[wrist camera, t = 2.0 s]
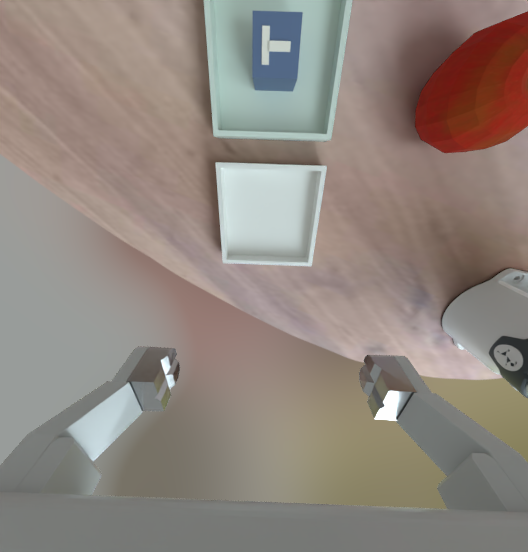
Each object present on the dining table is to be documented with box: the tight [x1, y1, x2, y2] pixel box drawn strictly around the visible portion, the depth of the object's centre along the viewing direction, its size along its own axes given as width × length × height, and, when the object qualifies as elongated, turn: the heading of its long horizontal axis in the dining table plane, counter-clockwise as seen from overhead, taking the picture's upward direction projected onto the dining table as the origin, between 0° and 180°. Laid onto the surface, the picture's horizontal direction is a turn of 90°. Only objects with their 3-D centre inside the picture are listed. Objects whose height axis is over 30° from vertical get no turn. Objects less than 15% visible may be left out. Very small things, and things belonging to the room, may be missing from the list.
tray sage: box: [204, 0, 353, 142], centre depth 23 cm, size 14×14×3 cm
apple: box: [415, 12, 528, 153], centre depth 21 cm, size 10×10×12 cm
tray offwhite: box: [215, 162, 327, 266], centre depth 32 cm, size 14×14×3 cm
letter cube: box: [252, 11, 303, 92], centre depth 22 cm, size 4×4×5 cm
